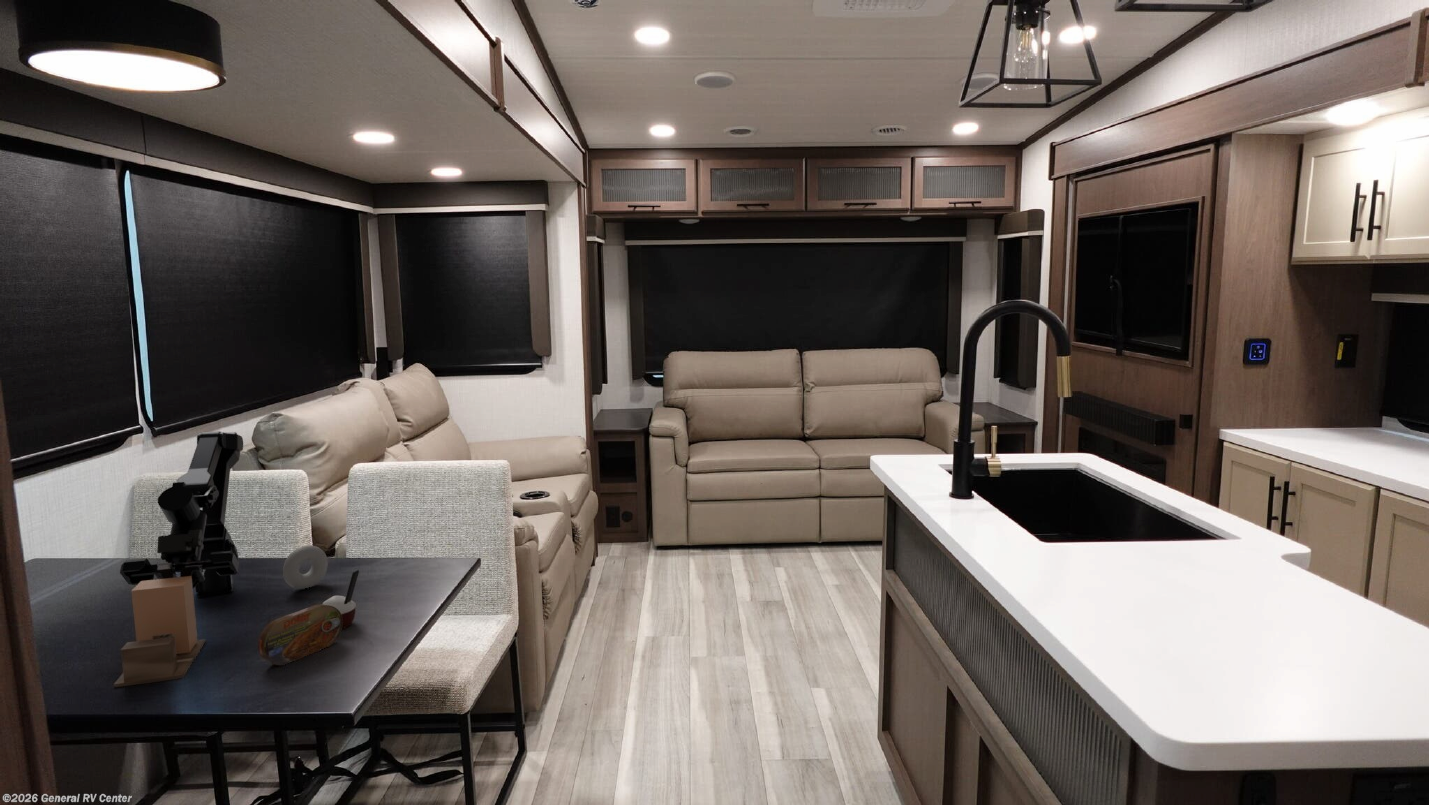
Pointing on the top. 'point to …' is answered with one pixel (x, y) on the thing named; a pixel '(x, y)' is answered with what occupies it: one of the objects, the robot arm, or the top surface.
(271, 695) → the top surface
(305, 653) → the tin
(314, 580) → the donut
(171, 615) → the rectangular block
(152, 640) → the pipe stand
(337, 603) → the cocoa
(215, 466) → the robot arm
